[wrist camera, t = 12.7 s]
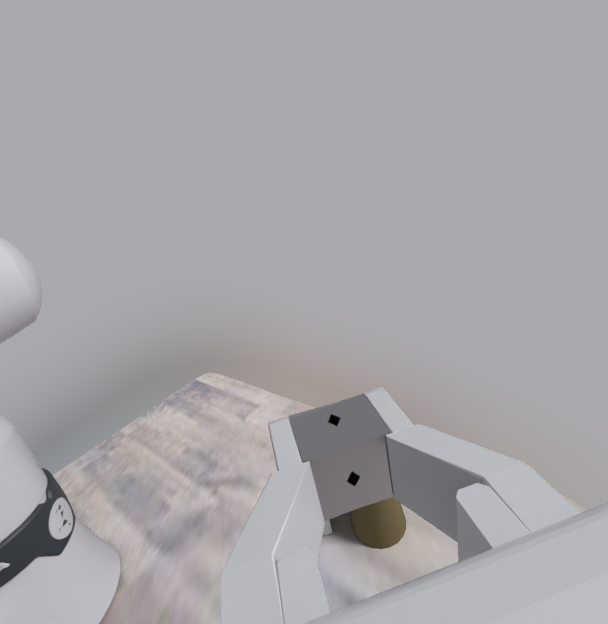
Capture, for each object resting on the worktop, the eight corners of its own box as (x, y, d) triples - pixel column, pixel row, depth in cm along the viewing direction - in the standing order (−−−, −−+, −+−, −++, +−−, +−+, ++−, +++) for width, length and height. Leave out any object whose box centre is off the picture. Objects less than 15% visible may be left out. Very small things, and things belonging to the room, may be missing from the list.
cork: (376, 560, 36) (362, 483, 32) (340, 518, 41) (324, 445, 37) (418, 525, 39) (410, 448, 35) (380, 488, 44) (369, 418, 40)
